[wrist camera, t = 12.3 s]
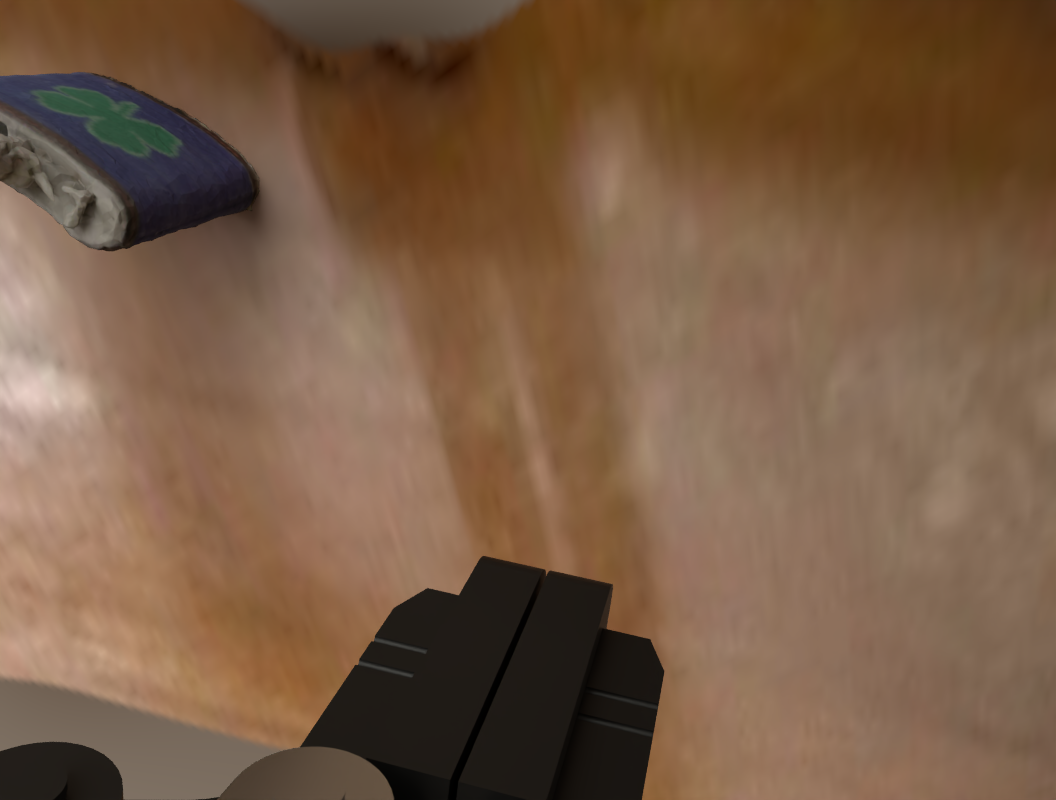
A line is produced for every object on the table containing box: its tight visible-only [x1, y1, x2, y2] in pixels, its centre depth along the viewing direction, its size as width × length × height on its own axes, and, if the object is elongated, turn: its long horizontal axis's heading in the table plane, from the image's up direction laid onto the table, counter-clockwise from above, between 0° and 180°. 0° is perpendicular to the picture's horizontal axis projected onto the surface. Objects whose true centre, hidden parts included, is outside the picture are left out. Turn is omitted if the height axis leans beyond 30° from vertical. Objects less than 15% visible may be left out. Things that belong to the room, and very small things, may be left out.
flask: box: [0, 72, 259, 251], centre depth 37 cm, size 9×3×11 cm, turn 61°
